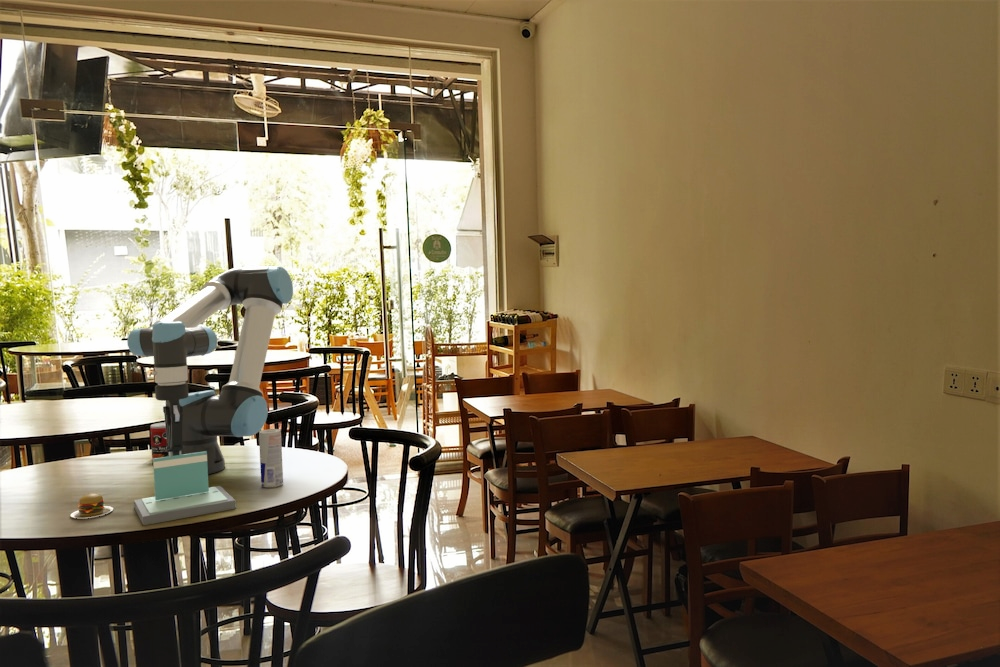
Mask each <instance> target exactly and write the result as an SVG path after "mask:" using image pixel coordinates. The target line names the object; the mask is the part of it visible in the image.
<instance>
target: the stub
mask: <svg viewBox="0 0 1000 667" xmlns="http://www.w3.org/2000/svg"><path fill="white" fill-rule="evenodd" d="M152 464H153V465H152V466H153V483H154V484H153V485H154V497H155V500H161V499H167V498H173V497H179V496H185V495H191V494H197V493H203V492H209V474H208V466H207V452H206V451H204V452H197V453H190V454H182V455H175V456H168V457H160V458H152Z"/></svg>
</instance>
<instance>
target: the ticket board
mask: <svg viewBox="0 0 1000 667" xmlns="http://www.w3.org/2000/svg"><path fill="white" fill-rule="evenodd" d="M133 506H134V510H135V512H136V514H137V516H138V518H139V519H140V522H141V524H142V525H143V526H147V525H152V524H158V523H164V522H169V521H174V520H180V519H187V518H191V517H195V516H196V517H197V516H203V515H208V514H214V513H218V512H223V511H228V510H234V509H236V507H237V506H236V499H235V498H234V497H233V496H232V495H230V494H229V492H227V491H226V490H225V489H224V488H223V487H222V486H221V485H216V486H211V487H209V492H203V493H197V494H191V495H185V496H179V497H173V498H167V499H161V500H155V496H151V497H143V498H138V499H134V500H133Z"/></svg>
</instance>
